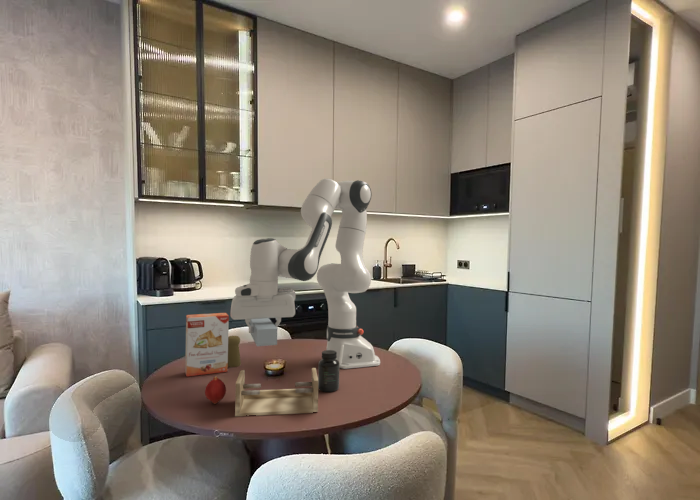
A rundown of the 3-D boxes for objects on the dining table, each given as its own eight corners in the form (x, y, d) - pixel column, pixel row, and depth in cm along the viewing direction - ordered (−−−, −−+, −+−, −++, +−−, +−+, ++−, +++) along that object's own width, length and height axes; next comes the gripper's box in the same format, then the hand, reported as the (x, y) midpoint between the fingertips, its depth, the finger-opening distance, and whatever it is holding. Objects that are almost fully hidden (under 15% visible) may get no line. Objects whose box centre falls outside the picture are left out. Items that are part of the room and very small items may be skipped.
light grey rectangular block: (250, 333, 133) (250, 318, 133) (268, 332, 135) (268, 317, 135) (256, 346, 117) (257, 329, 117) (277, 344, 119) (277, 328, 119)
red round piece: (208, 399, 117) (208, 372, 117) (227, 399, 118) (228, 372, 117) (202, 407, 111) (202, 379, 111) (223, 407, 112) (223, 379, 112)
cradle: (315, 397, 120) (315, 367, 120) (317, 412, 110) (318, 380, 109) (240, 400, 117) (240, 370, 117) (235, 416, 106) (235, 383, 106)
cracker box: (186, 377, 135) (187, 317, 135) (184, 372, 140) (185, 314, 140) (228, 372, 141) (229, 314, 141) (225, 367, 147) (226, 311, 146)
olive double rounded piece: (243, 362, 153) (243, 334, 153) (237, 367, 147) (237, 338, 146) (228, 361, 153) (228, 334, 153) (221, 366, 147) (222, 337, 147)
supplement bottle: (320, 384, 131) (320, 348, 131) (340, 385, 131) (341, 349, 130) (316, 391, 125) (316, 354, 124) (337, 393, 124) (338, 355, 124)
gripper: (293, 287, 132) (292, 327, 132) (230, 288, 125) (229, 331, 125) (297, 289, 126) (297, 332, 127) (231, 291, 119) (231, 336, 119)
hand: (263, 331), depth 126 cm, fingers closed on light grey rectangular block, 6 cm apart
